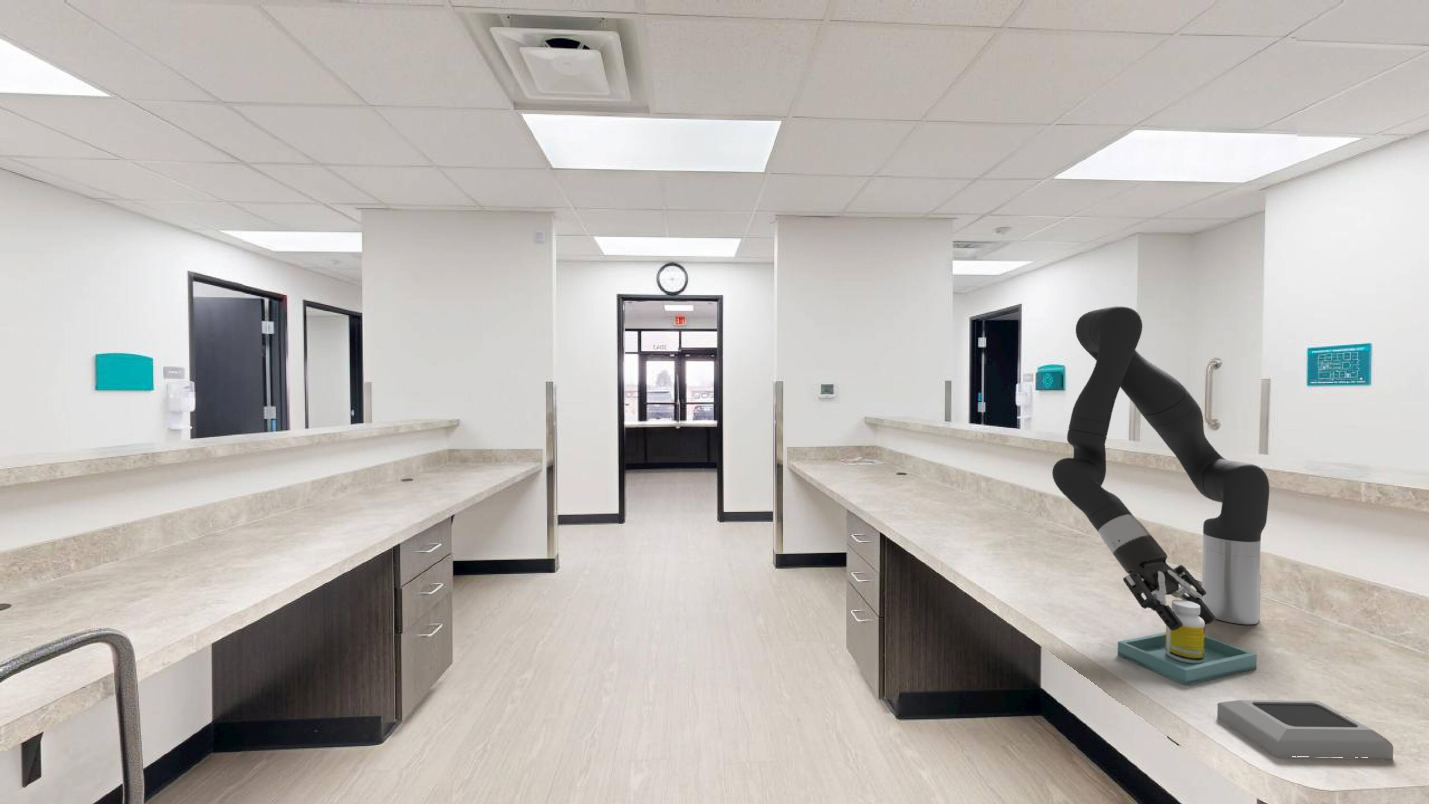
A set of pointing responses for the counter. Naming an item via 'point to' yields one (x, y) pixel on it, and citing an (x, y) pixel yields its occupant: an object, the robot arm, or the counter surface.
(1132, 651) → the tray
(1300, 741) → the gray beveled slab
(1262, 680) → the counter surface
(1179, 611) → the supplement bottle
